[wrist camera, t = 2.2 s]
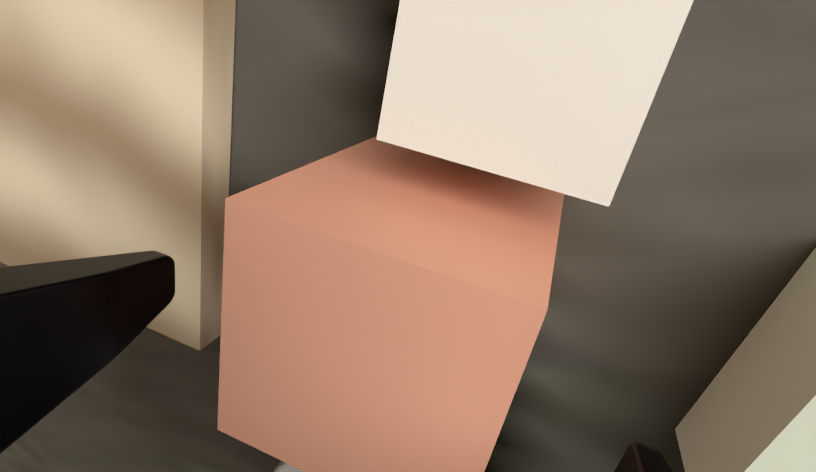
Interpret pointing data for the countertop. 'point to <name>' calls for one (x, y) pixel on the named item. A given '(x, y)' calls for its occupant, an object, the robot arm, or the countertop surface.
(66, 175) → the birch board
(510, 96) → the cream cube
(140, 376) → the countertop surface
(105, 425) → the countertop surface
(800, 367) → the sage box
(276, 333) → the terracotta block
